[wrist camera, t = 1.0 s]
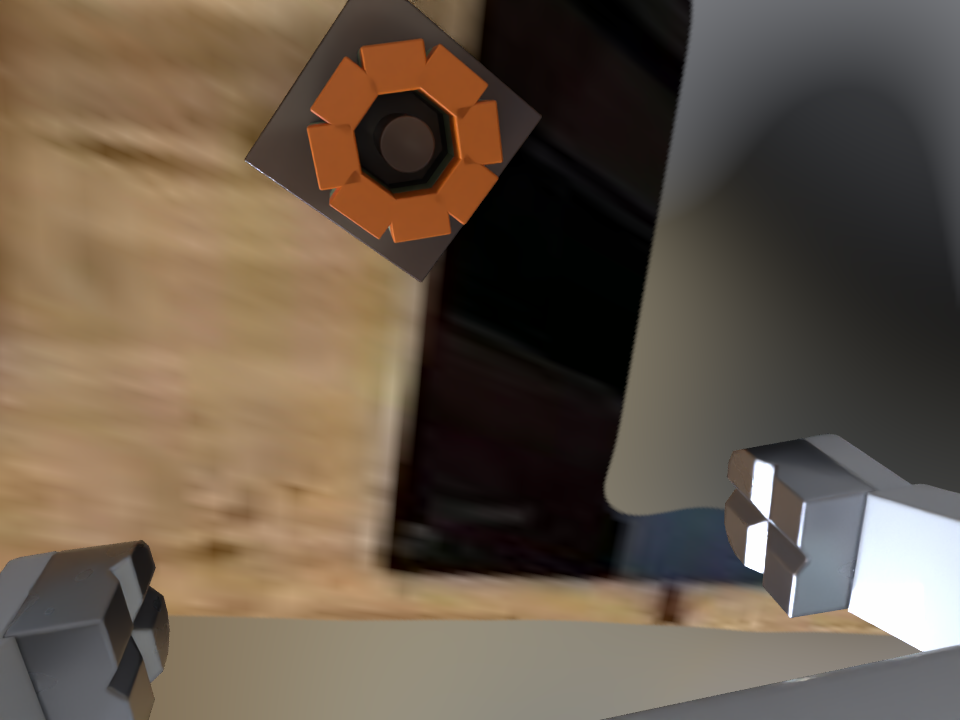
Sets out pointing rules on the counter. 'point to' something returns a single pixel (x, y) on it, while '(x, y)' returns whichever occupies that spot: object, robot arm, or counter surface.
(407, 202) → the orange ring
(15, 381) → the counter surface
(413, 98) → the spindle
